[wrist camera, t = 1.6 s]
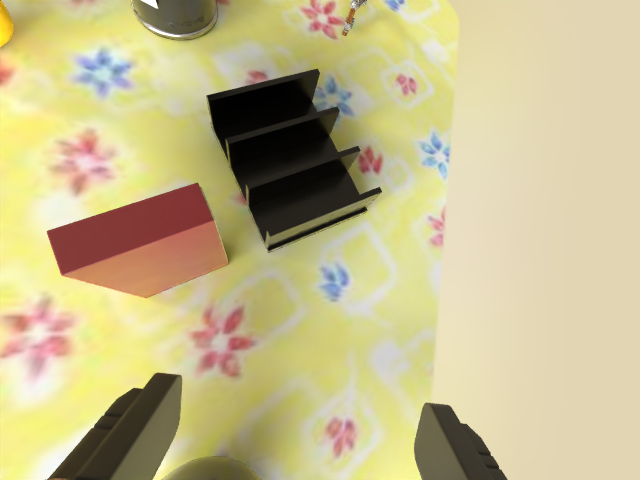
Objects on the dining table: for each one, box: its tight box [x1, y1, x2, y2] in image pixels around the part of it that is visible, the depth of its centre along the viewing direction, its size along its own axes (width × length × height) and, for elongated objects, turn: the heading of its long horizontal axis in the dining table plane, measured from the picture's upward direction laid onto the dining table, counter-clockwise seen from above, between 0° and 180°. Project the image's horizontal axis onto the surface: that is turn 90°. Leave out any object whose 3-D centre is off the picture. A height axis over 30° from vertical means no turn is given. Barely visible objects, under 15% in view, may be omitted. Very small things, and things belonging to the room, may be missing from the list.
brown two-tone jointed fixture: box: [342, 0, 367, 36], centre depth 42 cm, size 2×8×4 cm, turn 160°
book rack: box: [206, 69, 382, 253], centre depth 33 cm, size 16×12×6 cm
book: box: [47, 183, 229, 298], centre depth 24 cm, size 3×8×14 cm, turn 116°
